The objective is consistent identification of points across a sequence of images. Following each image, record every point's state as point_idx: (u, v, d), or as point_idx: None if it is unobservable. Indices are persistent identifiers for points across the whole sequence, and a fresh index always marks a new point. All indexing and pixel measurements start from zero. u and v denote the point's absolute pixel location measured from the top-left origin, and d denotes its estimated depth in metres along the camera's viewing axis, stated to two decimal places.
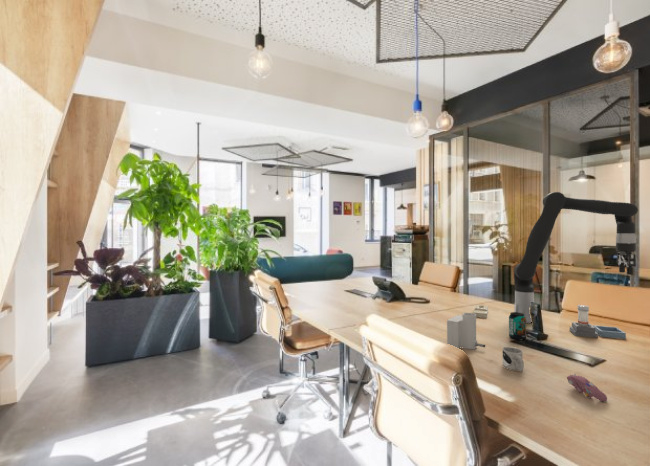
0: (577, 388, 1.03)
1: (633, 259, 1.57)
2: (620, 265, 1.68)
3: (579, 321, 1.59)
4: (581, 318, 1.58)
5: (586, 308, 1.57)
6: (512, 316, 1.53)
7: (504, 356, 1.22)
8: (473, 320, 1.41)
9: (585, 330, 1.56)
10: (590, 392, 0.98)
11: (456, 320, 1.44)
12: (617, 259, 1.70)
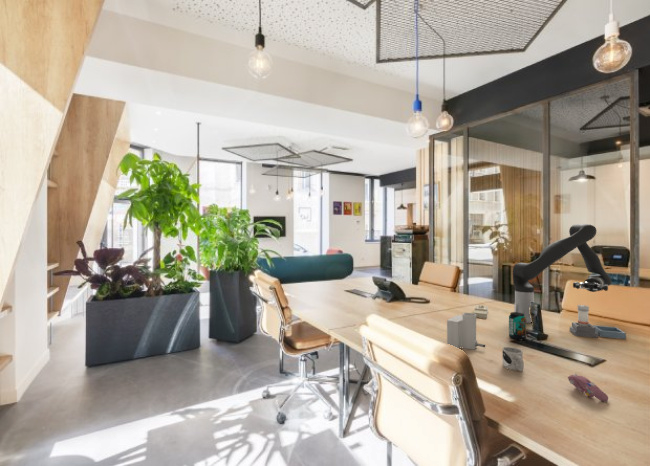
0: (578, 388, 1.03)
1: (607, 288, 1.66)
2: (579, 284, 1.72)
3: (579, 321, 1.59)
4: (581, 318, 1.58)
5: (586, 308, 1.57)
6: (512, 316, 1.53)
7: (504, 356, 1.22)
8: (473, 320, 1.41)
9: (585, 330, 1.56)
10: (591, 392, 0.98)
11: (456, 320, 1.44)
12: (575, 282, 1.75)
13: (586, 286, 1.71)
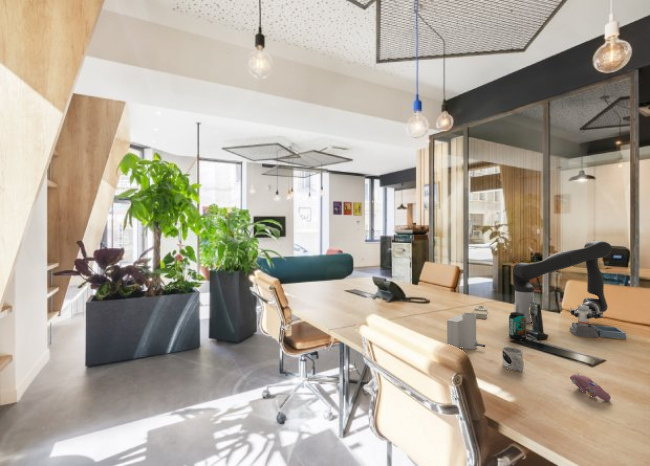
0: (580, 388, 1.04)
1: (600, 316, 1.58)
2: None
3: (579, 321, 1.59)
4: (581, 318, 1.58)
5: (586, 308, 1.57)
6: (512, 316, 1.53)
7: (504, 356, 1.22)
8: (473, 320, 1.41)
9: (585, 330, 1.56)
10: (594, 392, 0.98)
11: (456, 320, 1.44)
12: (572, 309, 1.65)
13: None
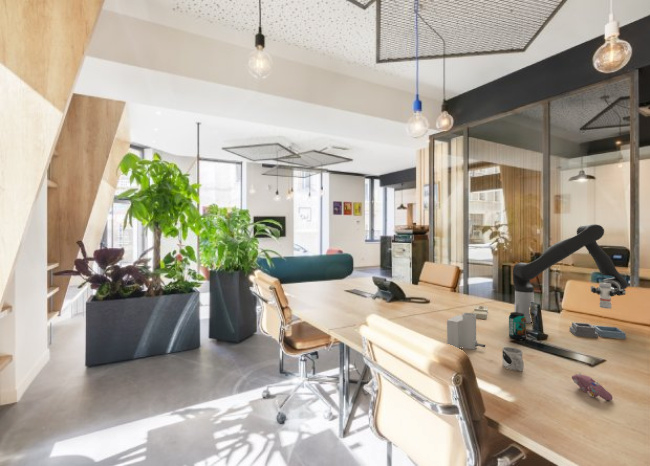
0: (582, 387, 1.04)
1: (623, 293, 1.56)
2: None
3: (601, 298, 1.57)
4: (604, 295, 1.56)
5: (608, 285, 1.55)
6: (512, 316, 1.53)
7: (504, 356, 1.22)
8: (473, 320, 1.41)
9: (585, 330, 1.56)
10: (596, 391, 0.98)
11: (456, 320, 1.44)
12: (594, 287, 1.64)
13: None
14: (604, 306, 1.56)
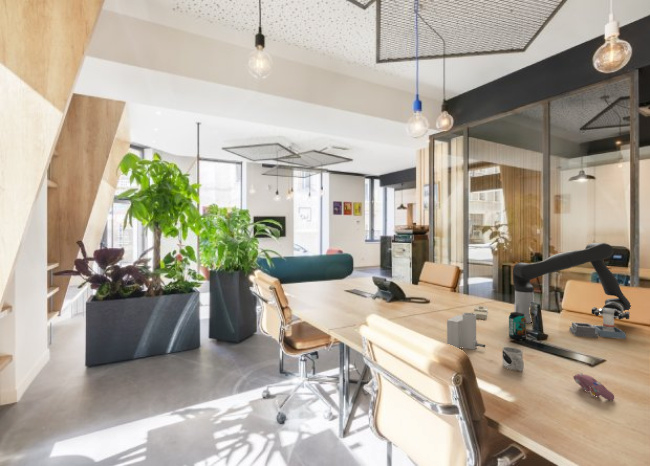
0: (584, 387, 1.04)
1: (629, 316, 1.56)
2: (598, 311, 1.61)
3: (604, 324, 1.57)
4: (607, 321, 1.56)
5: (612, 311, 1.55)
6: (512, 316, 1.53)
7: (504, 356, 1.22)
8: (473, 320, 1.41)
9: (585, 330, 1.56)
10: (597, 391, 0.98)
11: (456, 320, 1.44)
12: (594, 308, 1.65)
13: None
14: None
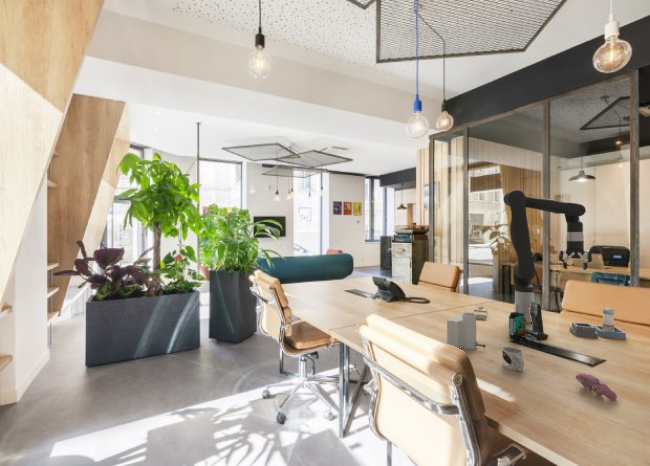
0: (586, 387, 1.04)
1: None
2: (566, 262, 1.77)
3: (604, 324, 1.57)
4: (607, 321, 1.56)
5: (612, 311, 1.55)
6: (512, 316, 1.53)
7: (504, 356, 1.22)
8: (473, 320, 1.41)
9: (585, 330, 1.56)
10: (600, 391, 0.98)
11: (456, 320, 1.44)
12: (562, 257, 1.78)
13: None
14: None
